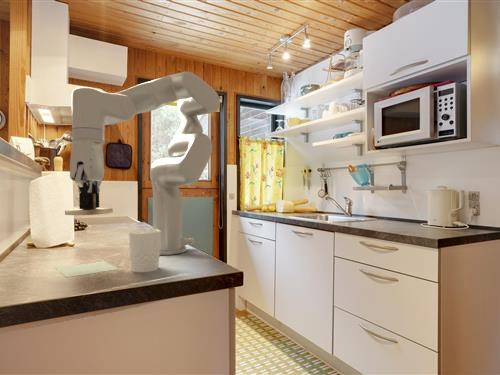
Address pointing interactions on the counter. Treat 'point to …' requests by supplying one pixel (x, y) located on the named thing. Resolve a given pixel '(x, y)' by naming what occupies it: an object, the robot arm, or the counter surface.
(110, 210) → the lid
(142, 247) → the white cup
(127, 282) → the counter surface
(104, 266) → the mat
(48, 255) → the counter surface
